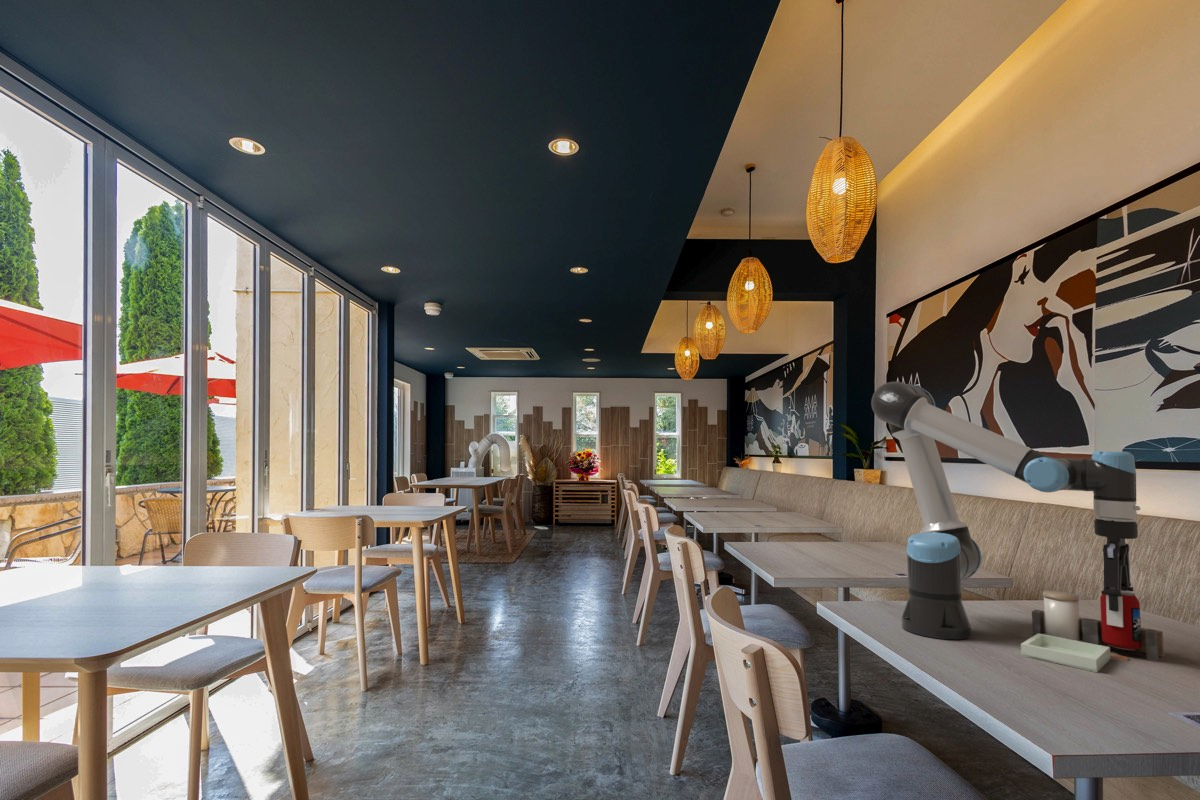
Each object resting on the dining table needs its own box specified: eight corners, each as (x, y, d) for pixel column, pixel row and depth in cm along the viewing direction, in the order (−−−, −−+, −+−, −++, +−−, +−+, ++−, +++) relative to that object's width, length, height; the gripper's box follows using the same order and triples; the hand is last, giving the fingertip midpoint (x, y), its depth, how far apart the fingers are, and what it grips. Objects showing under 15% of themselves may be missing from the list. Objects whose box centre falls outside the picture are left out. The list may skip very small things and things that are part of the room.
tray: (1021, 655, 133) (1020, 644, 133) (1038, 644, 142) (1038, 633, 142) (1096, 672, 123) (1096, 659, 124) (1110, 659, 132) (1109, 647, 132)
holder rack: (1025, 639, 145) (1024, 613, 145) (1040, 630, 153) (1038, 606, 153) (1155, 666, 128) (1153, 636, 128) (1164, 654, 135) (1162, 626, 136)
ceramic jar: (1041, 640, 144) (1039, 593, 145) (1049, 635, 149) (1047, 589, 150) (1077, 647, 139) (1074, 598, 140) (1084, 642, 144) (1081, 594, 145)
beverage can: (1148, 653, 132) (1145, 595, 133) (1110, 648, 134) (1108, 591, 135) (1132, 646, 138) (1129, 591, 140) (1096, 641, 140) (1094, 587, 142)
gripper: (1128, 524, 129) (1132, 635, 128) (1144, 518, 142) (1148, 619, 141) (1084, 520, 135) (1087, 626, 133) (1103, 515, 148) (1106, 611, 146)
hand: (1118, 622), depth 137 cm, fingers closed on beverage can, 7 cm apart
